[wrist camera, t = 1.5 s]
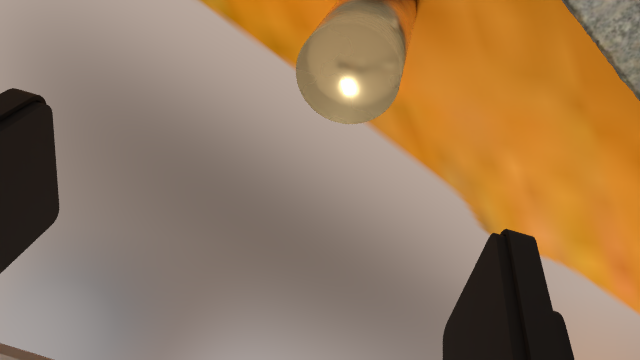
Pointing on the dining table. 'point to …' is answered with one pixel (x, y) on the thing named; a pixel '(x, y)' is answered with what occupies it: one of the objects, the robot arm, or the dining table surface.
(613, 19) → the stone block
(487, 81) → the dining table surface
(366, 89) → the brass pin
